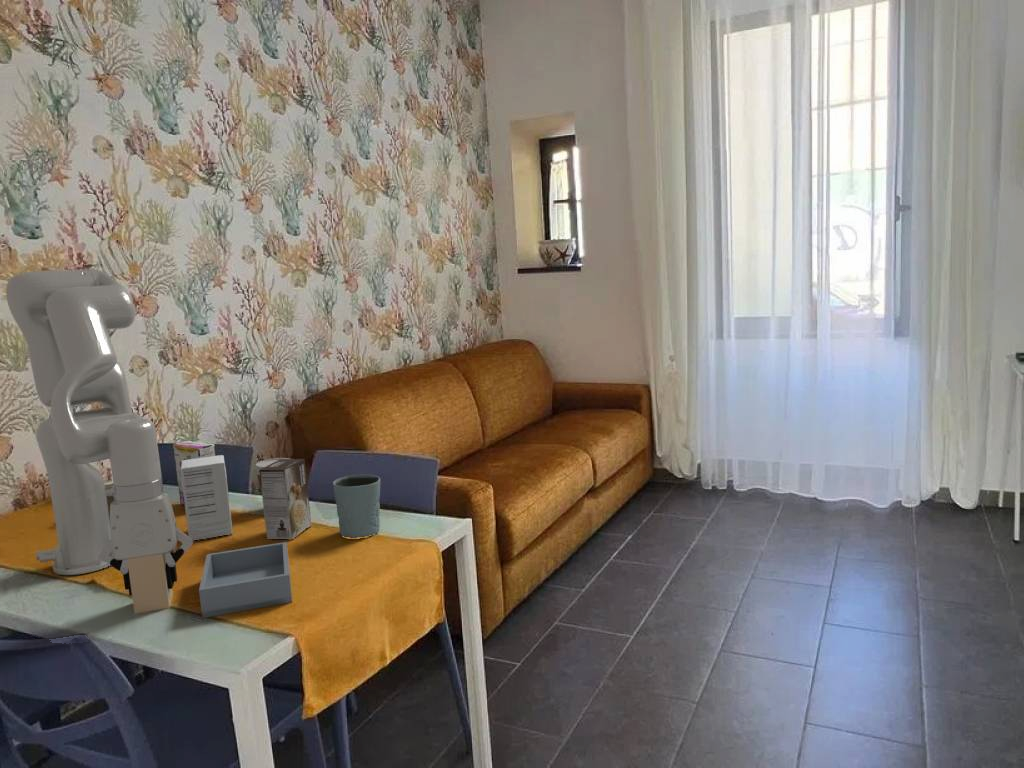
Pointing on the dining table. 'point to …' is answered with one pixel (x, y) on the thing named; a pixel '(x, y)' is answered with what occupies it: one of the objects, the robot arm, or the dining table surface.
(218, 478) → the supplement box
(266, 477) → the coffee box
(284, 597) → the tote
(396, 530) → the dining table surface
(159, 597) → the carton
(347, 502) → the teal cup
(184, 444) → the candy bar box
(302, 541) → the dining table surface
